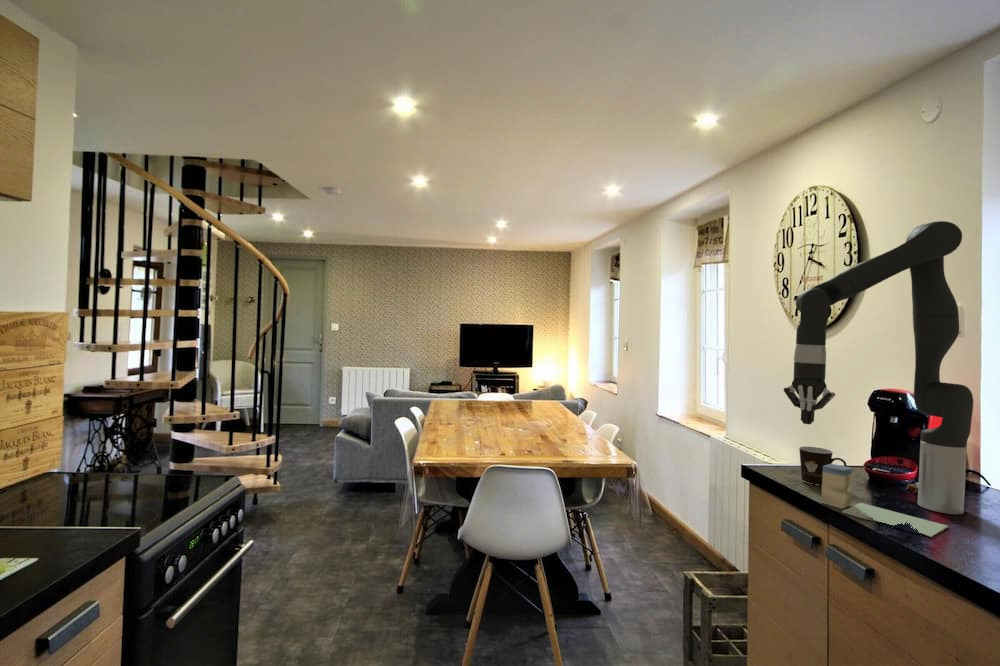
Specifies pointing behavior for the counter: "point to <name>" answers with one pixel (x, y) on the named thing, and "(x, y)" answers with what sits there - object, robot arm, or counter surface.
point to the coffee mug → (815, 463)
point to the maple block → (836, 484)
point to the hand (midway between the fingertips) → (807, 423)
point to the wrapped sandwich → (913, 487)
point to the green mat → (900, 519)
